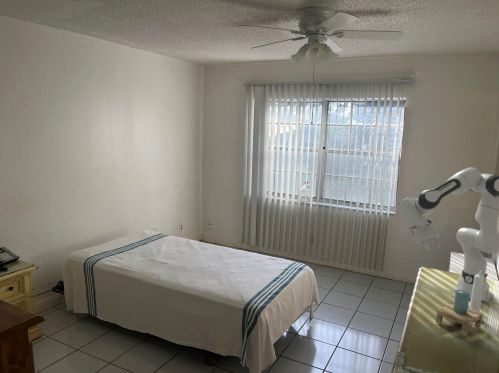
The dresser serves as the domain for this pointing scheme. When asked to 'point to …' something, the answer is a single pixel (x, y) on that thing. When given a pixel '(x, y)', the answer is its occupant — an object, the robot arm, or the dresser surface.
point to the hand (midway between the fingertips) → (434, 247)
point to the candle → (477, 292)
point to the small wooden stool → (460, 317)
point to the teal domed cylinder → (461, 302)
